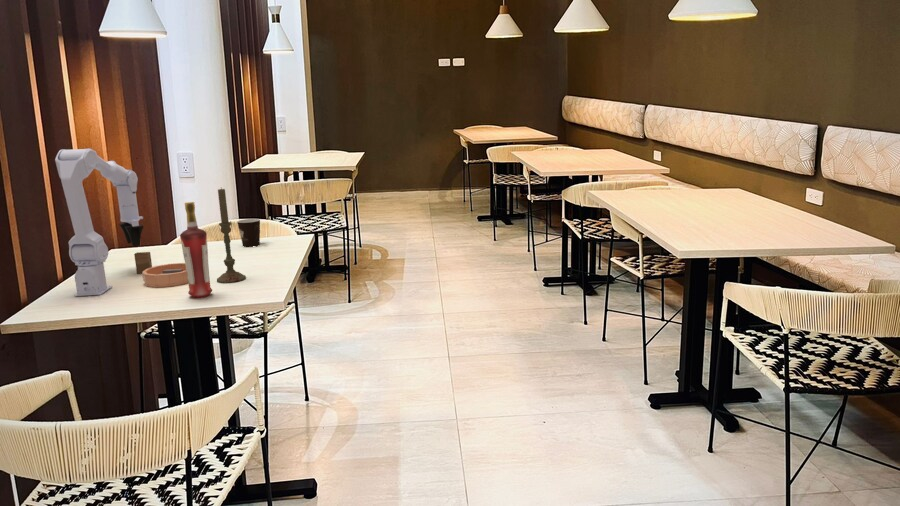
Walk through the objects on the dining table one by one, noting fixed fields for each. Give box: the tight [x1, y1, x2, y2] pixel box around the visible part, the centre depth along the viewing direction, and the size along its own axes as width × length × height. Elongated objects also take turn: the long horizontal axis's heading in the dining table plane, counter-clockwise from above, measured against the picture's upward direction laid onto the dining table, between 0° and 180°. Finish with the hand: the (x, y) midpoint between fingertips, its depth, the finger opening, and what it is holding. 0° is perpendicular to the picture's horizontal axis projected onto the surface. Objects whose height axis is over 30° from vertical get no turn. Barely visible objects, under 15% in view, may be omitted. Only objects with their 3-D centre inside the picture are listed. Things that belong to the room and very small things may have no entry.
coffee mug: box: [237, 218, 261, 248], centre depth 285 cm, size 12×9×10 cm
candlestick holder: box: [216, 187, 247, 284], centre depth 231 cm, size 9×9×30 cm
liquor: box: [179, 201, 213, 299], centre depth 213 cm, size 7×7×28 cm
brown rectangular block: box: [133, 251, 153, 275], centre depth 248 cm, size 2×4×7 cm, turn 94°
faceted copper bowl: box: [141, 262, 188, 288], centre depth 236 cm, size 16×16×4 cm
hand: (133, 244), depth 249 cm, fingers open, 7 cm apart
